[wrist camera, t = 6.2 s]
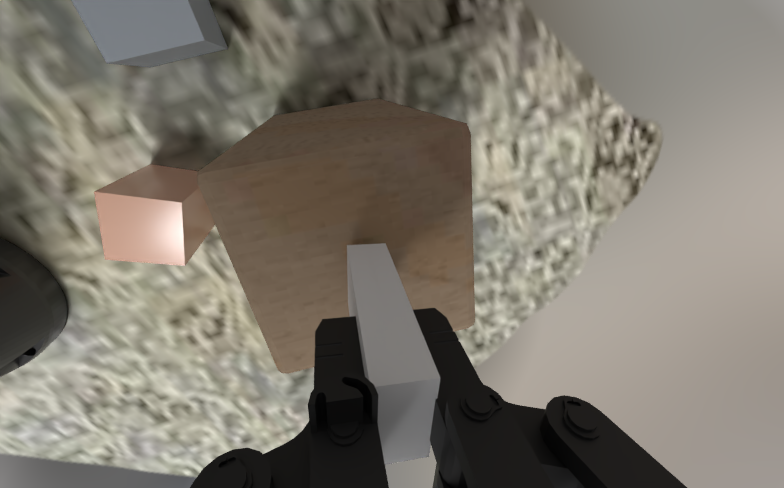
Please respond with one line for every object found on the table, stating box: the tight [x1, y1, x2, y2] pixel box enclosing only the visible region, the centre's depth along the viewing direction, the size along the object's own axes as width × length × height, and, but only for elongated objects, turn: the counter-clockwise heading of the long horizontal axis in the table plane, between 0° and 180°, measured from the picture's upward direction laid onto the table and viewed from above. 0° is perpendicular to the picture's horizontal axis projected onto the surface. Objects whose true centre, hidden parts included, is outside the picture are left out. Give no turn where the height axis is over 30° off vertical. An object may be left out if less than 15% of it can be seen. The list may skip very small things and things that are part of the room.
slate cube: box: [71, 0, 228, 67], centre depth 21 cm, size 6×6×6 cm
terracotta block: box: [94, 164, 215, 266], centre depth 26 cm, size 5×5×8 cm
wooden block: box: [197, 98, 475, 373], centre depth 22 cm, size 10×10×20 cm
